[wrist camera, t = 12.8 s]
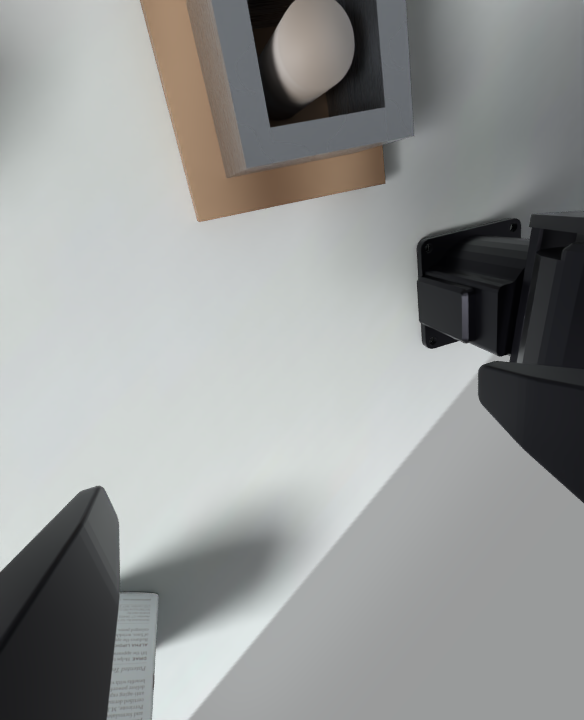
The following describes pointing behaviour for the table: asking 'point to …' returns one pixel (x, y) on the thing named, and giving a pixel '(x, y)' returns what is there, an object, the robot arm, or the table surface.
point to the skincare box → (134, 657)
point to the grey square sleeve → (344, 100)
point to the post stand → (283, 102)
